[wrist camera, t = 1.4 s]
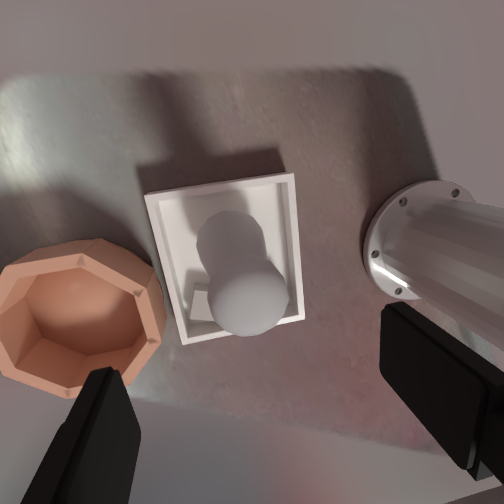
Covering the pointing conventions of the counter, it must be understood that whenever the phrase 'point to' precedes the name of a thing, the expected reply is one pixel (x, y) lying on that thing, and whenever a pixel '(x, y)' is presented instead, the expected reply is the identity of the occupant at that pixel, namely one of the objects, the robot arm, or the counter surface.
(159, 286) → the bowl
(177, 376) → the counter surface
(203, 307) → the beige rectangular block
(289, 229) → the tray
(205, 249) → the salt shaker
